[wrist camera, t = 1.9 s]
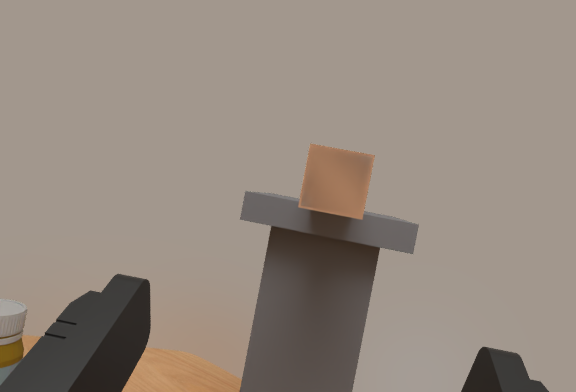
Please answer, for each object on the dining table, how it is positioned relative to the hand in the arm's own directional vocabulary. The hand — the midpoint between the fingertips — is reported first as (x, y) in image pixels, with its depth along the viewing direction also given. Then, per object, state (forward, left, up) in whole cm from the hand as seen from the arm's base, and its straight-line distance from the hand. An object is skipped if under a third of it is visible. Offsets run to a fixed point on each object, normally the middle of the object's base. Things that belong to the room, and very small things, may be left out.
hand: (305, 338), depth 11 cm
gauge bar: (-10, +21, +3) cm, 24 cm away
